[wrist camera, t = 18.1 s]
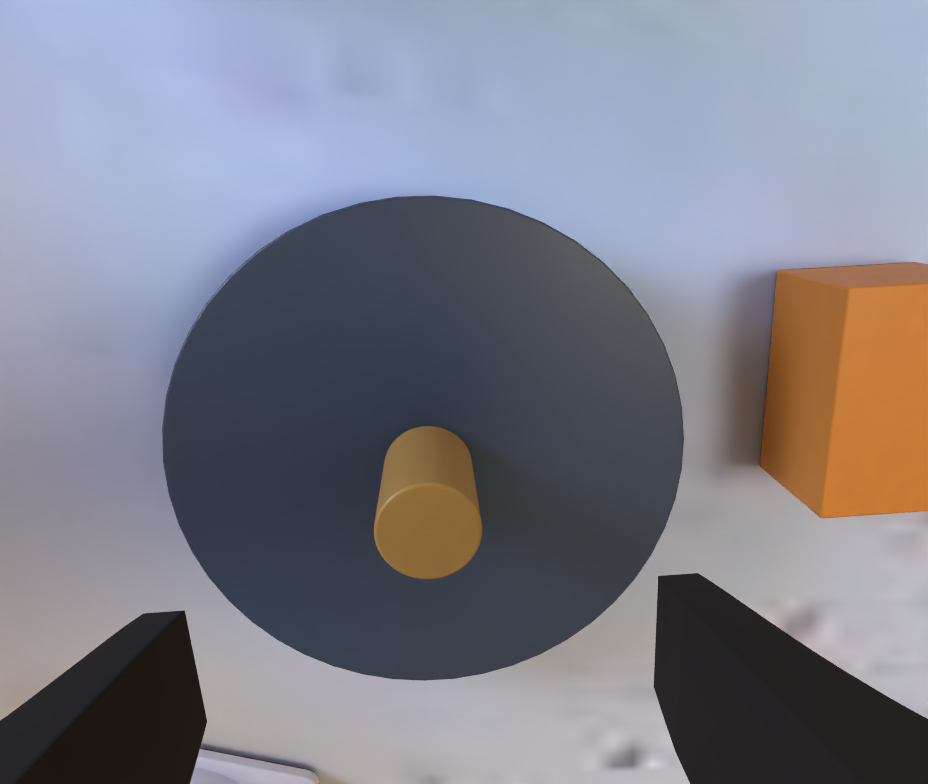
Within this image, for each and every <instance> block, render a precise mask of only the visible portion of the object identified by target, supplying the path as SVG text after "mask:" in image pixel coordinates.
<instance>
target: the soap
mask: <svg viewBox="0 0 928 784" xmlns="http://www.w3.org/2000/svg"><path fill="white" fill-rule="evenodd" d="M760 467H761V468H762V469H764V470H765V471H766V472H767V473H768V474H770V475H771V476H772V477H773V478H774V479H775V480H777V481H778V482H779V483H780V484H781V485H782V486H784V487H785V488H786V489H787V490H788V491H790V492H791V493H792V494H793V495H794V496H795V497H797V498H798V499H799V500H800V501H801V502H802V503H804V504H805V505H806V506H807V507H808V508H810V509H811V510H812V511H813V512H814V513H815V514H817V515H818V516H819V517H820V518H833V517H847V516H861V515H876V514H890V513H904V512H918V511H928V264H922V263H916V262H911V263H893V264H876V265H859V266H842V267H824V268H807V269H790V270H779V271H777V278H776V289H775V301H774V312H773V324H772V335H771V346H770V358H769V369H768V380H767V392H766V403H765V414H764V426H763V437H762V448H761V460H760Z"/></svg>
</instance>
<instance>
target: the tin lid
mask: <svg viewBox="0 0 928 784" xmlns="http://www.w3.org/2000/svg"><path fill="white" fill-rule="evenodd" d="M162 434H163V463H164V469H165V474H166V480H167V486H168V492H169V496H170V499H171V502H172V505H173V508H174V511H175V514H176V517H177V520H178V523H179V526H180V528H181V530H182V532H183V534H184V536H185V538H186V540H187V542H188V544H189V546H190V548H191V550H192V552H193V554H194V555H195V557H196V558H197V560H198V561H199V563H200V565H201V566H202V568H203V569H204V571H205V572H206V574H207V575H208V577H209V578H210V579H211V580H212V582H213V583H214V584H215V585H216V586H217V587H218V589H219V590H220V591H221V592H222V593H223V594H224V596H225V597H226V598H227V599H228V600H229V601H230V602H231V603H232V604H233V605H234V606H235V607H236V608H237V609H239V610H240V611H241V612H242V613H243V614H244V615H245V616H246V617H247V618H248V619H250V620H251V621H252V622H253V623H254V624H256V625H257V626H259V627H260V628H262V629H263V630H264V631H266V632H267V633H269V634H270V635H271V636H273V637H274V638H276V639H277V640H279V641H281V642H283V643H284V644H286V645H288V646H290V647H292V648H294V649H295V650H297V651H299V652H301V653H303V654H305V655H307V656H310V657H312V658H315V659H317V660H320V661H322V662H325V663H327V664H330V665H332V666H335V667H339V668H343V669H346V670H350V671H353V672H357V673H361V674H365V675H372V676H378V677H384V678H390V679H405V680H438V679H454V678H460V677H466V676H472V675H478V674H484V673H487V672H491V671H494V670H498V669H501V668H505V667H508V666H512V665H515V664H517V663H520V662H522V661H524V660H527V659H529V658H532V657H534V656H537V655H539V654H541V653H543V652H545V651H547V650H549V649H551V648H552V647H554V646H556V645H558V644H560V643H562V642H564V641H565V640H567V639H569V638H570V637H571V636H573V635H574V634H576V633H577V632H579V631H580V630H581V629H583V628H584V627H586V626H587V625H589V624H590V623H591V622H593V621H594V620H595V619H596V618H597V617H598V616H599V615H600V614H602V613H603V612H604V611H605V610H606V609H607V608H608V607H609V606H611V605H612V604H613V603H614V602H615V601H616V600H617V598H618V597H619V596H620V595H621V594H622V593H623V592H624V591H625V589H626V588H627V587H628V586H629V585H630V584H631V583H632V581H633V580H634V579H635V578H636V576H637V575H638V573H639V572H640V570H641V569H642V567H643V566H644V564H645V563H646V562H647V560H648V559H649V557H650V556H651V554H652V552H653V550H654V548H655V546H656V544H657V542H658V540H659V538H660V536H661V534H662V533H663V531H664V529H665V526H666V523H667V520H668V518H669V515H670V512H671V509H672V506H673V504H674V501H675V497H676V492H677V488H678V483H679V478H680V474H681V469H682V455H683V442H684V434H683V419H682V406H681V401H680V396H679V391H678V386H677V382H676V377H675V373H674V371H673V368H672V365H671V362H670V360H669V357H668V354H667V351H666V349H665V346H664V344H663V342H662V340H661V338H660V336H659V334H658V332H657V330H656V329H655V327H654V325H653V323H652V321H651V319H650V317H649V315H648V314H647V313H646V311H645V310H644V309H643V307H642V306H641V304H640V303H639V302H638V300H637V299H636V298H635V296H634V295H633V294H632V292H631V291H630V289H629V288H628V287H627V286H626V285H625V284H624V283H623V282H622V281H621V280H620V279H619V278H618V277H617V276H616V275H615V274H614V273H613V272H612V271H611V270H610V269H609V268H608V267H607V266H606V264H605V263H604V262H602V261H601V260H600V259H598V258H597V257H596V256H594V255H593V254H592V253H591V252H589V251H588V250H587V249H585V248H584V247H583V246H581V245H580V244H579V243H578V242H576V241H575V240H573V239H571V238H570V237H568V236H566V235H564V234H563V233H561V232H559V231H557V230H555V229H554V228H552V227H550V226H548V225H547V224H545V223H543V222H540V221H538V220H535V219H533V218H530V217H528V216H525V215H523V214H520V213H518V212H515V211H513V210H510V209H507V208H503V207H499V206H495V205H491V204H487V203H483V202H479V201H475V200H470V199H461V198H452V197H442V196H407V197H393V198H387V199H381V200H375V201H369V202H363V203H358V204H355V205H352V206H349V207H346V208H342V209H339V210H336V211H333V212H330V213H326V214H323V215H321V216H319V217H317V218H315V219H312V220H310V221H308V222H306V223H304V224H302V225H300V226H298V227H296V228H293V229H291V230H289V231H287V232H286V233H284V234H283V235H281V236H280V237H278V238H277V239H275V240H274V241H272V242H271V243H269V244H268V245H266V246H265V247H263V248H262V249H260V250H259V251H257V252H256V253H255V254H254V255H253V256H252V257H250V258H249V259H248V260H247V261H246V262H245V263H244V264H243V265H241V266H240V267H239V268H238V269H237V270H236V271H235V272H233V273H232V274H231V275H230V276H229V277H228V279H227V280H226V281H225V282H224V283H223V284H222V286H221V287H220V288H219V289H218V290H217V292H216V293H215V294H214V295H213V296H212V297H211V299H210V300H209V301H208V302H207V304H206V305H205V307H204V308H203V310H202V312H201V313H200V315H199V316H198V318H197V320H196V321H195V323H194V324H193V326H192V328H191V329H190V331H189V333H188V335H187V337H186V339H185V342H184V344H183V346H182V349H181V351H180V353H179V356H178V358H177V360H176V362H175V365H174V369H173V373H172V376H171V380H170V384H169V388H168V391H167V395H166V402H165V411H164V419H163V428H162Z"/></svg>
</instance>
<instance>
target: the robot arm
mask: <svg viewBox="0 0 928 784" xmlns="http://www.w3.org/2000/svg"><path fill="white" fill-rule="evenodd" d="M654 688H655V691H656V695H657V698H658V701H659V704H660V707H661V710H662V713H663V716H664V719H665V722H666V725H667V728H668V731H669V734H670V737H671V740H672V743H673V746H674V748H675V751H676V753H677V756H678V758H679V760H680V762H681V764H682V767H683V769H684V771H685V773H686V775H687V777H688V780H689V782H690V784H928V719H927V718H925V717H923V716H921V715H919V714H917V713H916V712H914V711H912V710H910V709H908V708H907V707H905V706H903V705H901V704H899V703H898V702H896V701H894V700H892V699H891V698H889V697H887V696H885V695H884V694H882V693H880V692H879V691H877V690H875V689H874V688H872V687H870V686H869V685H867V684H865V683H864V682H862V681H860V680H859V679H857V678H855V677H854V676H852V675H850V674H849V673H847V672H845V671H844V670H842V669H841V668H839V667H837V666H836V665H834V664H833V663H831V662H829V661H828V660H826V659H825V658H823V657H822V656H820V655H818V654H817V653H815V652H814V651H812V650H811V649H809V648H808V647H806V646H805V645H803V644H802V643H800V642H799V641H797V640H796V639H794V638H793V637H791V636H790V635H788V634H787V633H785V632H784V631H782V630H781V629H779V628H778V627H776V626H775V625H773V624H772V623H770V622H769V621H768V620H766V619H765V618H763V617H762V616H760V615H759V614H757V613H756V612H755V611H753V610H752V609H750V608H749V607H747V606H746V605H744V604H743V603H742V602H740V601H739V600H737V599H736V598H734V597H733V596H731V595H730V594H729V593H727V592H726V591H724V590H723V589H721V588H720V587H718V586H717V585H715V584H714V583H712V582H711V581H709V580H708V579H706V578H705V577H703V576H701V575H700V574H698V573H695V574H681V575H668V576H658V599H657V623H656V647H655V671H654ZM206 723H207V719H206V714H205V709H204V704H203V699H202V694H201V689H200V684H199V680H198V675H197V670H196V665H195V660H194V655H193V650H192V645H191V640H190V635H189V630H188V625H187V620H186V615H185V611H173V612H159V613H145V614H142V615H141V616H139V617H138V618H136V619H135V620H133V621H132V622H130V623H129V624H128V625H126V626H125V627H123V628H122V629H121V630H119V631H118V632H117V633H115V634H114V635H113V636H111V637H110V638H109V639H107V640H106V641H105V642H103V643H102V644H101V645H100V646H98V647H97V648H96V649H94V650H93V651H92V652H90V653H89V654H88V655H87V656H85V657H84V658H83V659H81V660H80V661H79V662H78V663H76V664H75V665H74V666H72V667H71V668H70V669H68V670H67V671H66V672H64V673H63V674H62V675H61V676H59V677H58V678H57V679H55V680H54V681H53V682H51V683H50V684H49V685H47V686H46V687H45V688H44V689H42V690H41V691H40V692H38V693H37V694H36V695H34V696H33V697H32V698H30V699H29V700H28V701H27V702H25V703H24V704H23V705H21V706H20V707H19V708H17V709H16V710H15V711H13V712H12V713H10V714H9V715H8V716H6V717H5V718H3V719H2V720H1V721H0V784H319V779H318V777H317V775H316V774H315V773H314V772H312V771H309V770H306V769H301V768H295V767H290V766H285V765H280V764H275V763H270V762H265V761H260V760H254V759H249V758H244V757H239V756H234V755H229V754H224V753H219V752H214V751H208V750H203V749H200V746H201V742H202V738H203V735H204V731H205V727H206Z"/></svg>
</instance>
